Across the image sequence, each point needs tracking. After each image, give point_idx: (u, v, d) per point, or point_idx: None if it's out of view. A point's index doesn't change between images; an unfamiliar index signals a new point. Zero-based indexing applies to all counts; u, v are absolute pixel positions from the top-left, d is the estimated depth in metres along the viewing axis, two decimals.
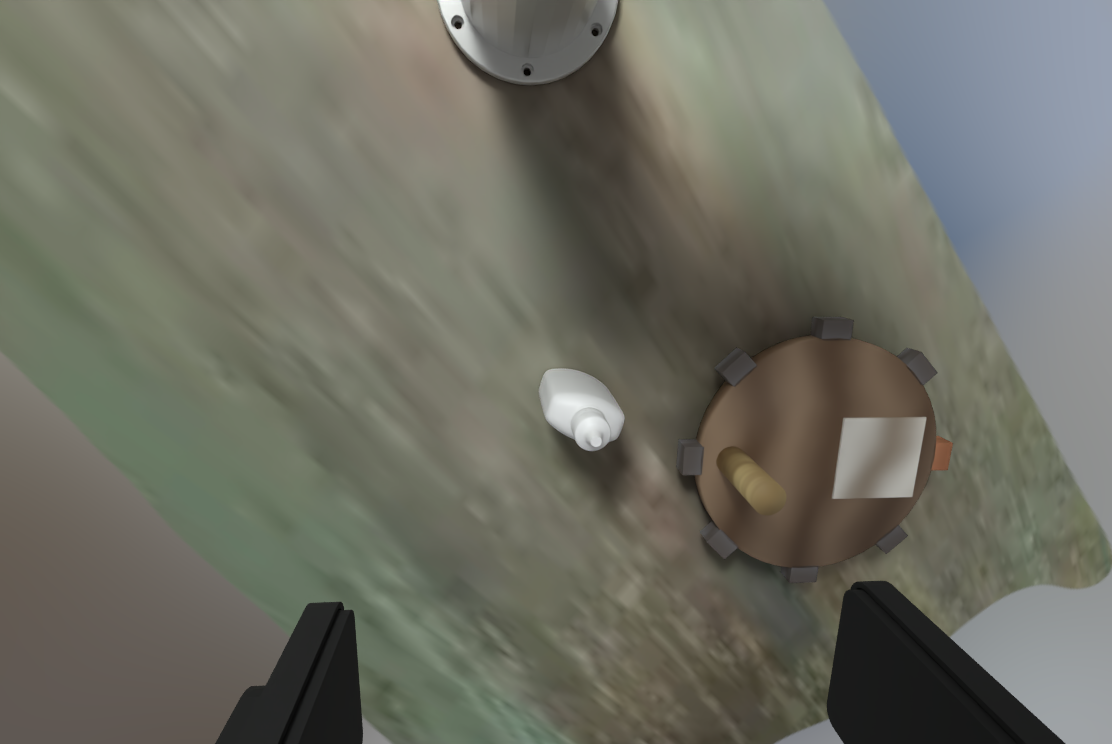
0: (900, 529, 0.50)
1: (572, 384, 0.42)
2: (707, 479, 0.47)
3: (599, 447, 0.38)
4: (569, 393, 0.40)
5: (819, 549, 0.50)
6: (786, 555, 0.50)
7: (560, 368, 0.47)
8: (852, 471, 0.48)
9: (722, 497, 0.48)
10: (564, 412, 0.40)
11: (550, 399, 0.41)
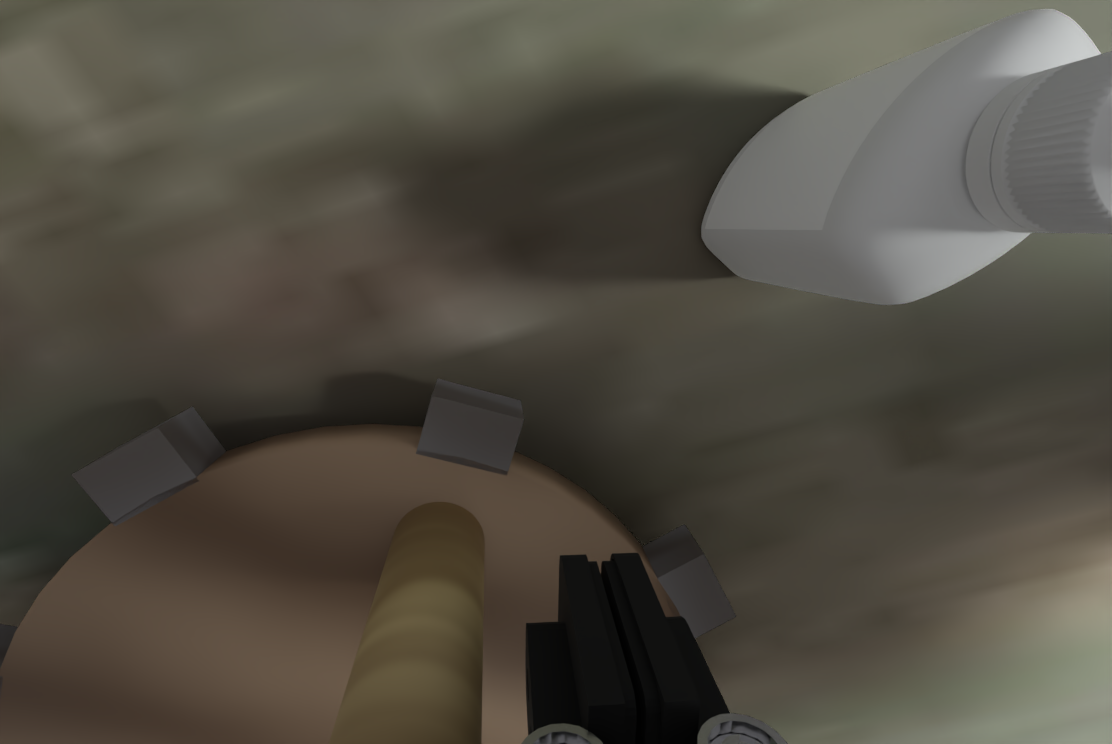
0: None
1: None
2: (394, 467, 0.15)
3: (1107, 139, 0.07)
4: None
5: None
6: (51, 664, 0.15)
7: None
8: None
9: (319, 502, 0.15)
10: None
11: None
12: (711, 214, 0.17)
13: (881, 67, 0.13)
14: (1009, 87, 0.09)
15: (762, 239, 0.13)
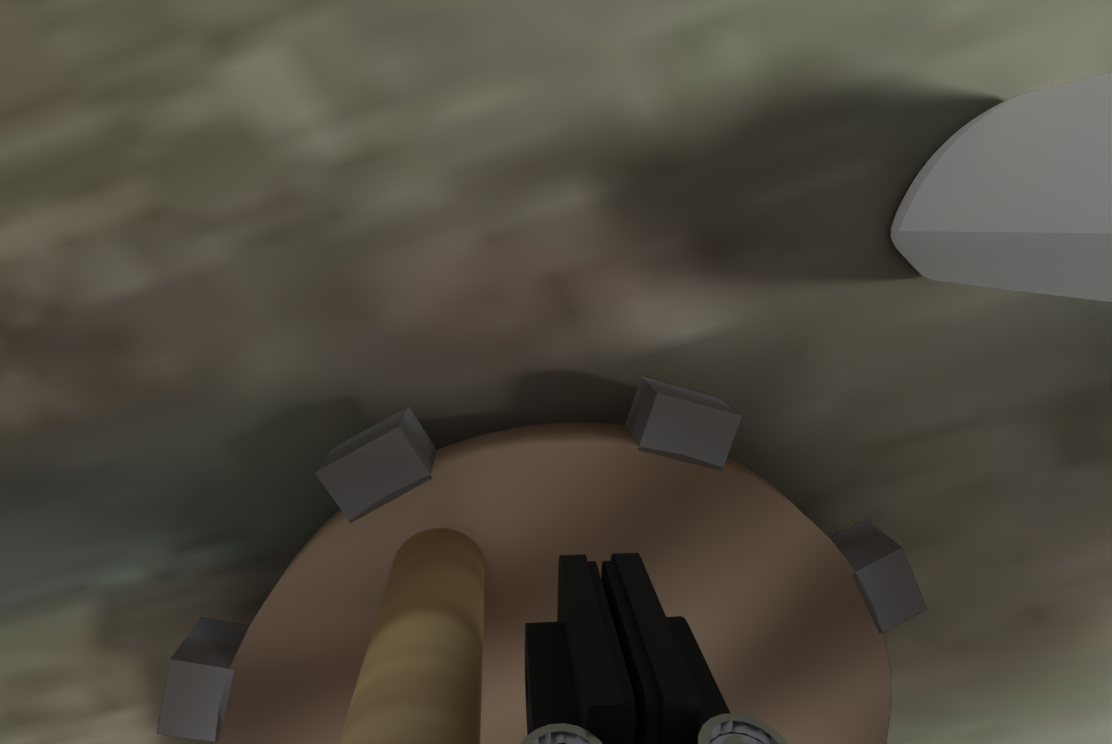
0: None
1: None
2: (347, 546, 0.15)
3: None
4: None
5: None
6: None
7: None
8: None
9: (325, 615, 0.15)
10: None
11: None
12: (910, 216, 0.17)
13: None
14: None
15: (1005, 242, 0.14)
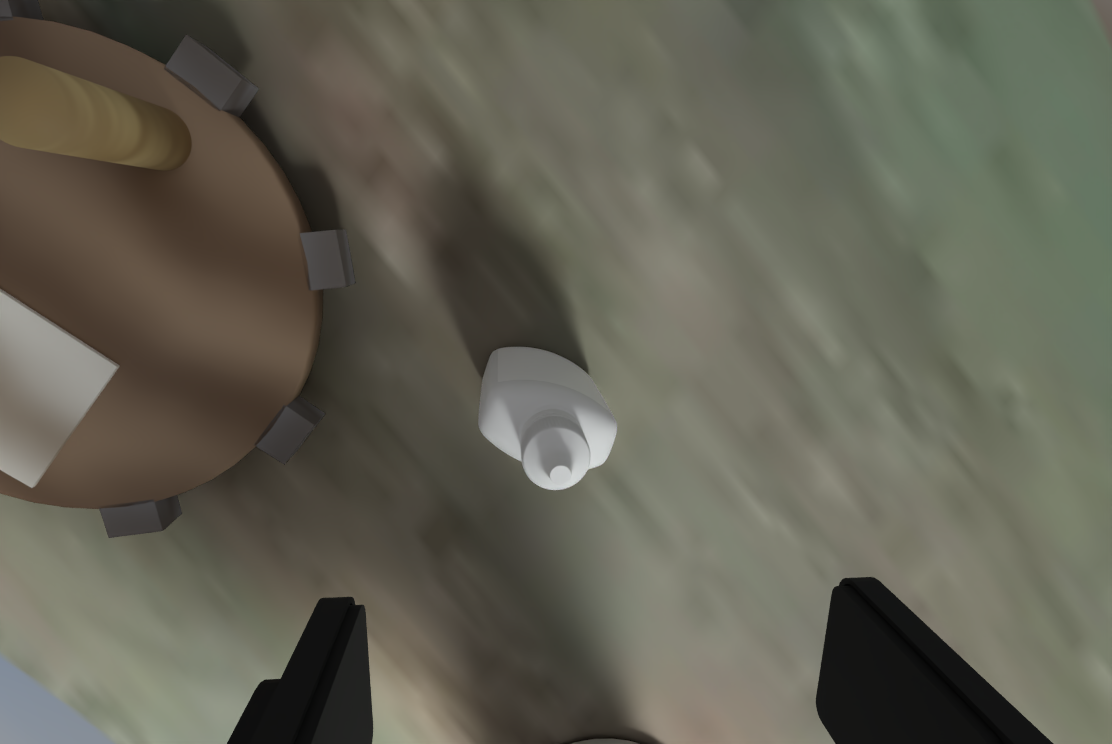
0: None
1: None
2: (146, 71, 0.23)
3: (544, 435, 0.20)
4: None
5: None
6: None
7: None
8: None
9: (88, 72, 0.22)
10: (591, 450, 0.23)
11: None
12: (506, 349, 0.29)
13: (594, 388, 0.27)
14: (567, 413, 0.22)
15: (493, 369, 0.26)
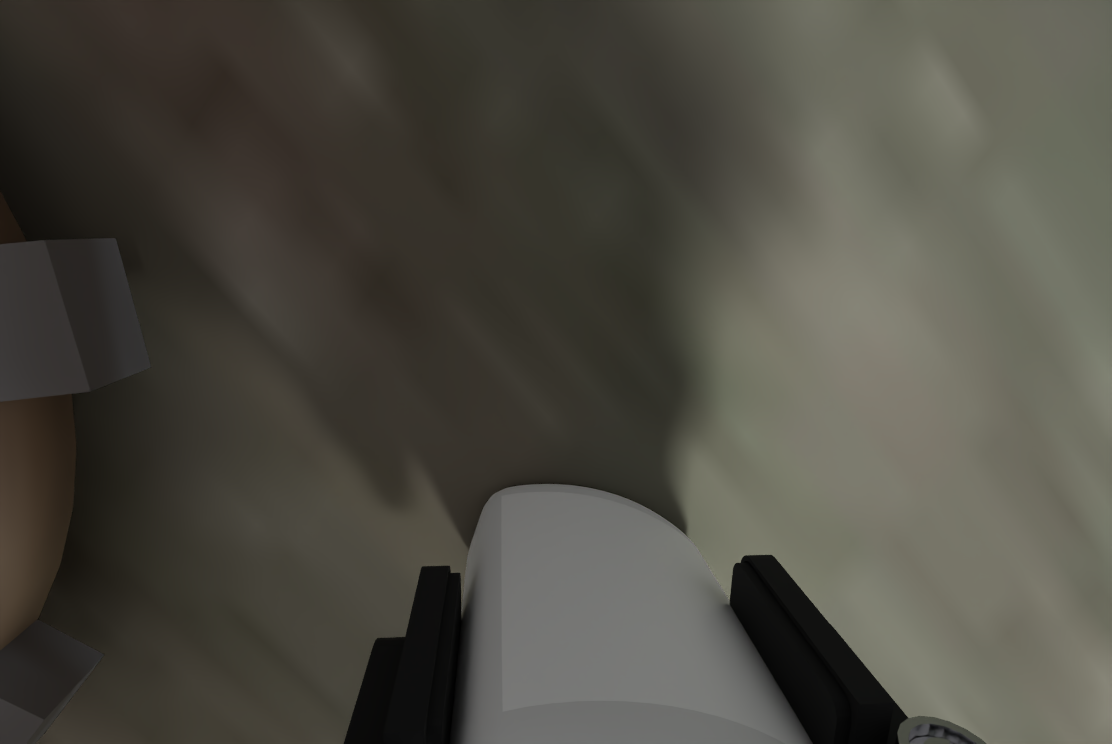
0: None
1: None
2: None
3: None
4: None
5: None
6: None
7: None
8: None
9: None
10: None
11: None
12: (520, 497, 0.13)
13: (735, 623, 0.11)
14: None
15: (488, 600, 0.10)
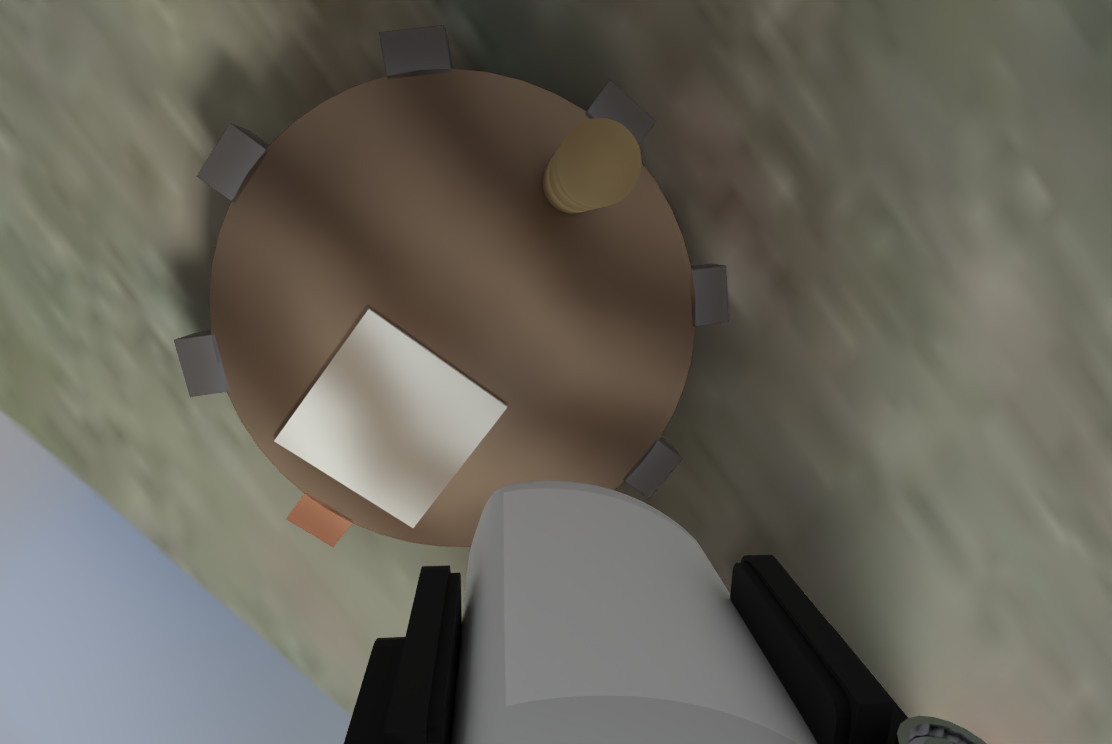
0: (213, 390, 0.24)
1: None
2: (568, 117, 0.23)
3: None
4: None
5: (271, 226, 0.23)
6: (301, 157, 0.22)
7: None
8: (400, 370, 0.24)
9: (514, 120, 0.23)
10: None
11: None
12: (522, 494, 0.13)
13: (738, 619, 0.11)
14: None
15: (491, 596, 0.10)
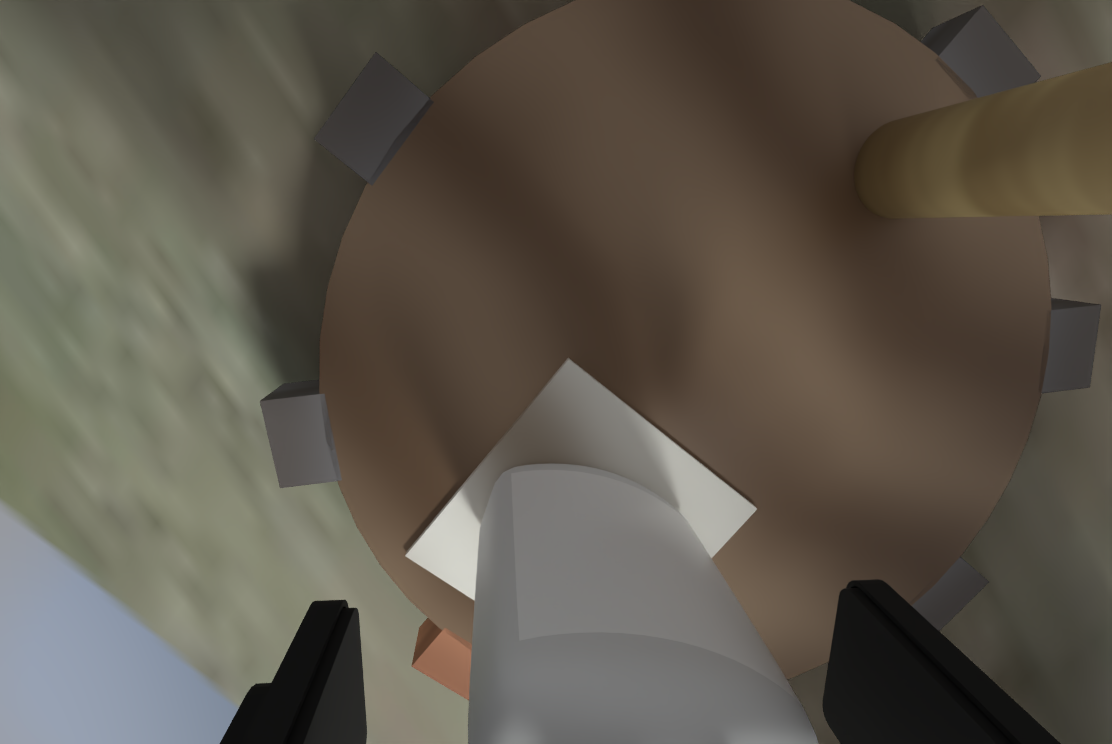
0: (317, 478, 0.15)
1: None
2: (909, 64, 0.14)
3: None
4: None
5: (428, 224, 0.14)
6: (486, 113, 0.14)
7: None
8: (606, 453, 0.16)
9: (826, 65, 0.14)
10: None
11: None
12: (528, 474, 0.15)
13: (719, 582, 0.13)
14: None
15: (503, 558, 0.11)
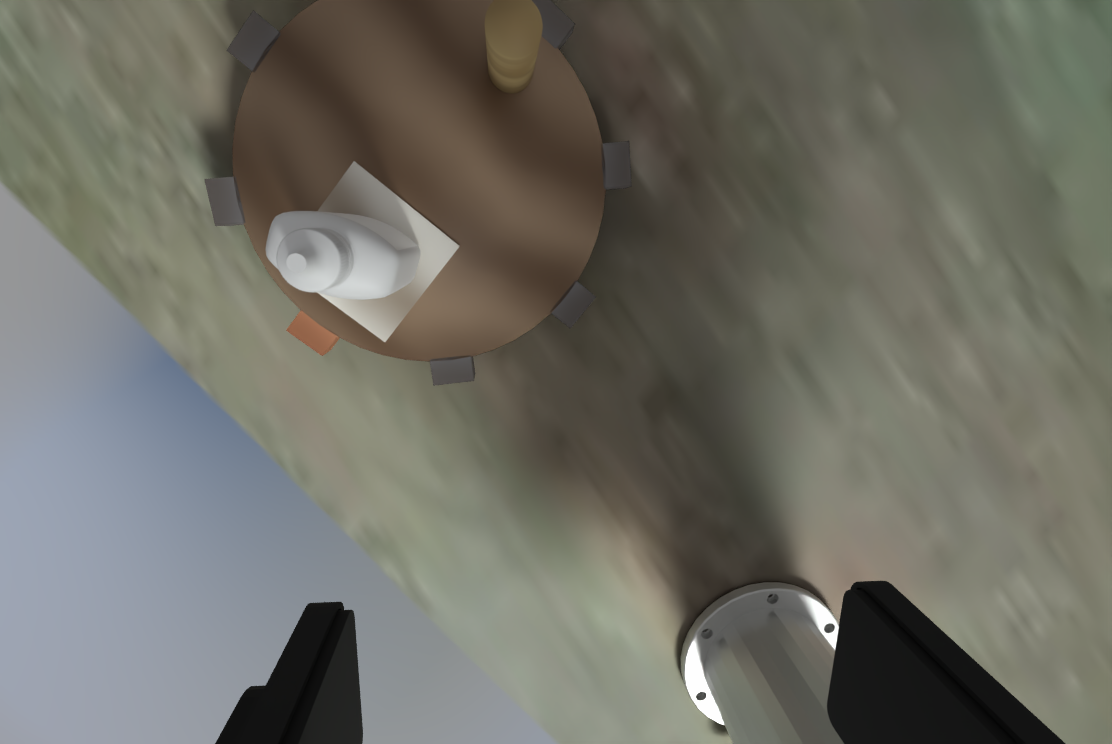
0: (233, 221, 0.32)
1: None
2: None
3: (293, 236, 0.22)
4: (363, 299, 0.26)
5: (281, 92, 0.30)
6: (306, 39, 0.30)
7: None
8: (377, 212, 0.32)
9: (467, 17, 0.30)
10: (367, 274, 0.25)
11: (393, 286, 0.26)
12: None
13: (400, 240, 0.29)
14: (335, 231, 0.24)
15: None
